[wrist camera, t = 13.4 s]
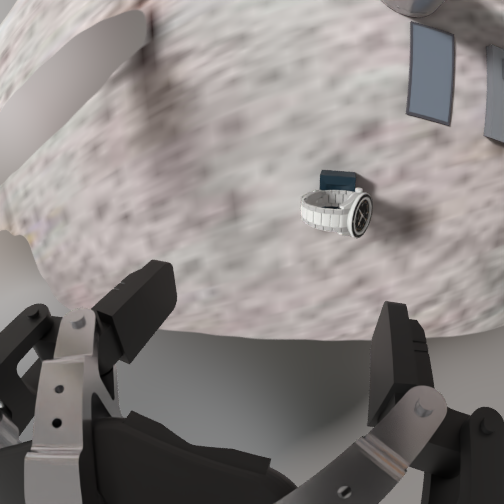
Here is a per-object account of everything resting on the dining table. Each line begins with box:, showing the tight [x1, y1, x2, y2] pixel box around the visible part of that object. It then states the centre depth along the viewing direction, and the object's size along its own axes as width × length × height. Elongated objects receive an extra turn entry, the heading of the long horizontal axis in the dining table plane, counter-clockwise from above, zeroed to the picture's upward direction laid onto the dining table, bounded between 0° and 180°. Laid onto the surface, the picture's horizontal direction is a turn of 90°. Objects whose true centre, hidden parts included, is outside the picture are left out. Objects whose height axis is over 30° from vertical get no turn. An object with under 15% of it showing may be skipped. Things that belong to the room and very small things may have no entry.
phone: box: [406, 21, 454, 126], centre depth 26 cm, size 6×13×1 cm, turn 177°
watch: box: [301, 170, 372, 238], centre depth 33 cm, size 6×8×11 cm
